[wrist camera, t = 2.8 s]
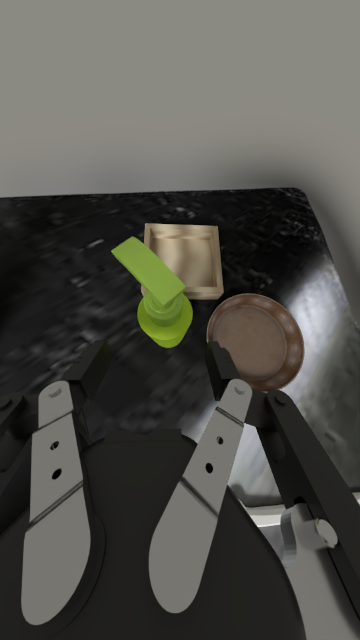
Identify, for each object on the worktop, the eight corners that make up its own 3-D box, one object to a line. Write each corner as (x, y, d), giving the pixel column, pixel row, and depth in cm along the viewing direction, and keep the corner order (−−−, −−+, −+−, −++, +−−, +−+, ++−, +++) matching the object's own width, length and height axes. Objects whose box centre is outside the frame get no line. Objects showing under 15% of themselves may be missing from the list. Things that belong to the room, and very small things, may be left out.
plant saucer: (217, 287, 31) (221, 280, 28) (297, 314, 31) (310, 310, 28) (191, 370, 27) (194, 371, 24) (284, 403, 26) (298, 409, 24)
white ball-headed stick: (380, 469, 25) (406, 483, 22) (390, 499, 24) (418, 518, 21) (218, 491, 23) (224, 509, 20) (222, 525, 22) (229, 549, 19)
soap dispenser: (166, 308, 29) (154, 214, 10) (189, 333, 28) (227, 282, 9) (143, 327, 28) (80, 263, 9) (167, 354, 27) (154, 348, 8)
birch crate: (144, 298, 30) (141, 291, 26) (148, 237, 33) (145, 223, 30) (217, 299, 30) (223, 292, 27) (213, 239, 34) (217, 226, 31)
